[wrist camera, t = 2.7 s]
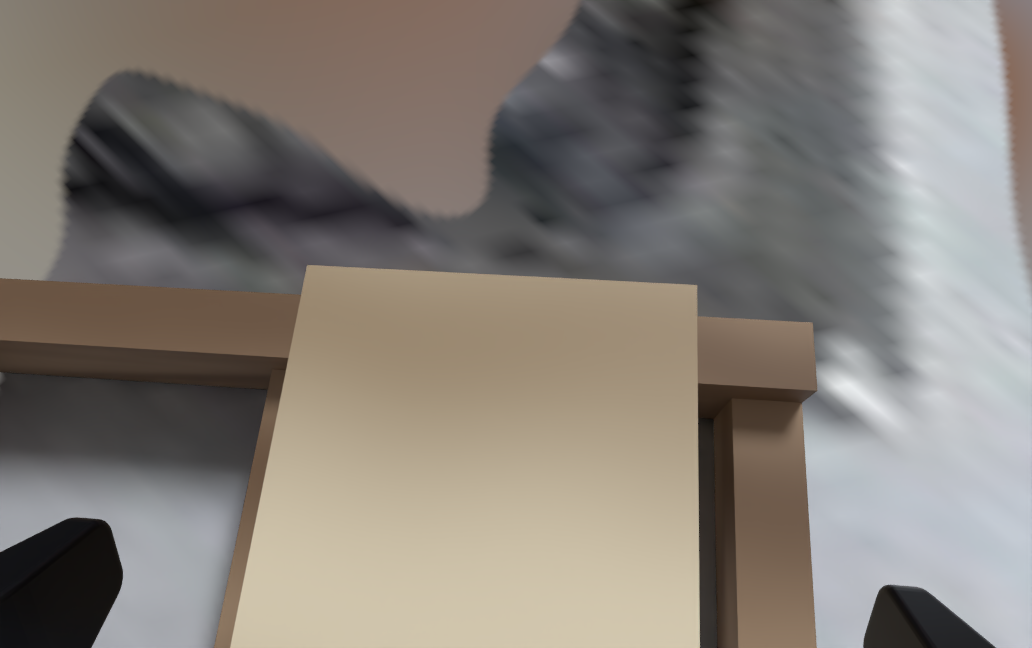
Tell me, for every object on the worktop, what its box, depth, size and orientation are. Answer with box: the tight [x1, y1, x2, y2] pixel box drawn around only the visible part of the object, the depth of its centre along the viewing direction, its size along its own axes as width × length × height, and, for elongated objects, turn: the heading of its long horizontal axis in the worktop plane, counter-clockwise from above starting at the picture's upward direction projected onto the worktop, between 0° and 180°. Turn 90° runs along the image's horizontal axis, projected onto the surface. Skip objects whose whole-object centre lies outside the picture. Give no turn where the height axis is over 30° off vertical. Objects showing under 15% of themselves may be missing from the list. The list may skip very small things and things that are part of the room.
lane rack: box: [0, 278, 817, 648], centre depth 16 cm, size 9×22×3 cm, turn 85°
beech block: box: [230, 265, 700, 648], centre depth 12 cm, size 5×5×10 cm
